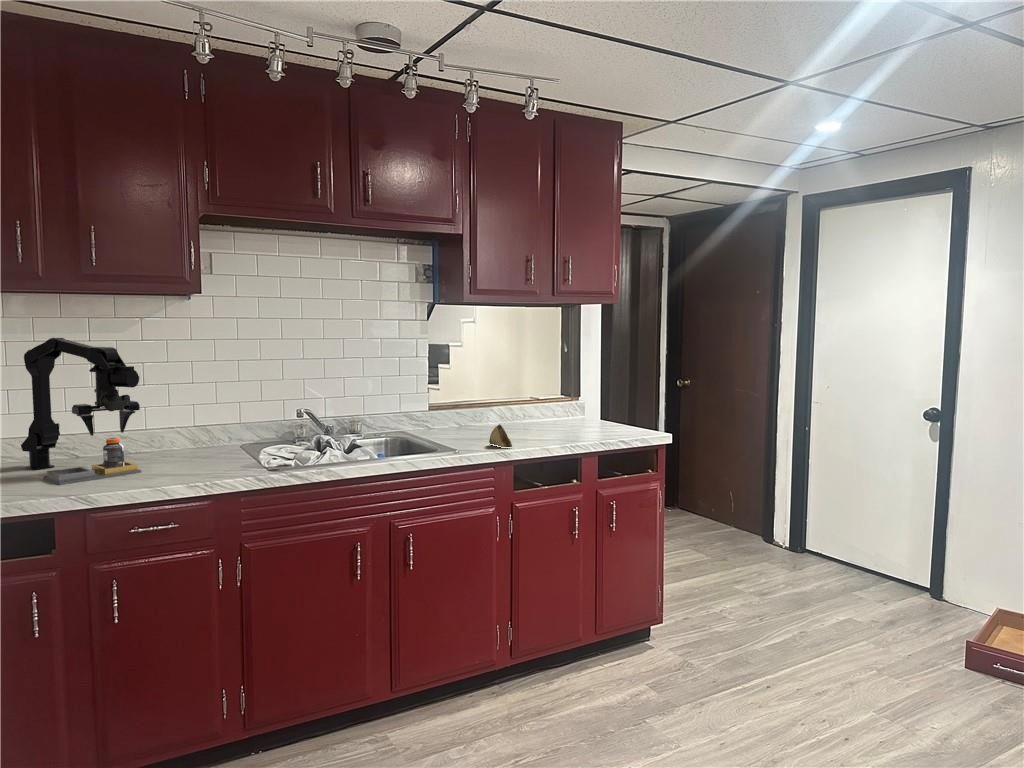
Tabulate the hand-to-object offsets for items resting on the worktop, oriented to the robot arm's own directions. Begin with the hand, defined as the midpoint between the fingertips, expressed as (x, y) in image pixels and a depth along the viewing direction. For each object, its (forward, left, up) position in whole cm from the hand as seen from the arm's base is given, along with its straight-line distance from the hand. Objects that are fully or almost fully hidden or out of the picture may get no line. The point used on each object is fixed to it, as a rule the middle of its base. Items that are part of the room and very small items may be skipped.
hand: (107, 433), depth 235 cm
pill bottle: (+2, +1, -13) cm, 13 cm away
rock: (+66, +121, -13) cm, 139 cm away
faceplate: (+2, -5, -13) cm, 14 cm away
